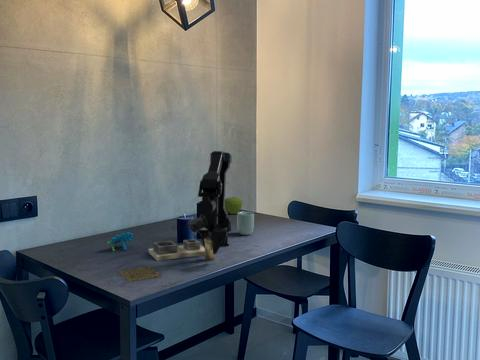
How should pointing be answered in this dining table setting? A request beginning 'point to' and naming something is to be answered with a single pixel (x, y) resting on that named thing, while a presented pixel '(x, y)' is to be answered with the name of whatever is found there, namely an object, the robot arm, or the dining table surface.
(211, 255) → the cylinder
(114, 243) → the blue green toy animal
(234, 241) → the dining table surface
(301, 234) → the dining table surface
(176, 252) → the board
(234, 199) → the apple
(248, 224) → the cup
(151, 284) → the dining table surface
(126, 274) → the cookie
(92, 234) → the dining table surface
